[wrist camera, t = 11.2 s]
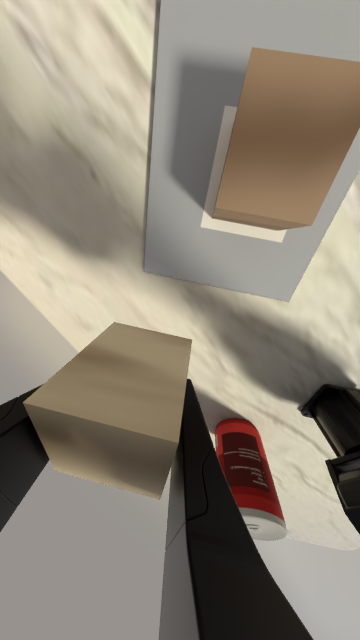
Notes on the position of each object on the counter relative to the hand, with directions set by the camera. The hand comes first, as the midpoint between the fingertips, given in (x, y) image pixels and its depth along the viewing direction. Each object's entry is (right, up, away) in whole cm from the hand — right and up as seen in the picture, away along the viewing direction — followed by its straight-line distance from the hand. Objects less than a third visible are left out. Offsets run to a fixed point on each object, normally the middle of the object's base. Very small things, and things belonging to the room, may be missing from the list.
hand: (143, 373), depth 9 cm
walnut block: (+8, +14, +4) cm, 17 cm away
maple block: (0, 0, +1) cm, 1 cm away
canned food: (+12, -17, +20) cm, 29 cm away
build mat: (+8, +16, +4) cm, 18 cm away
